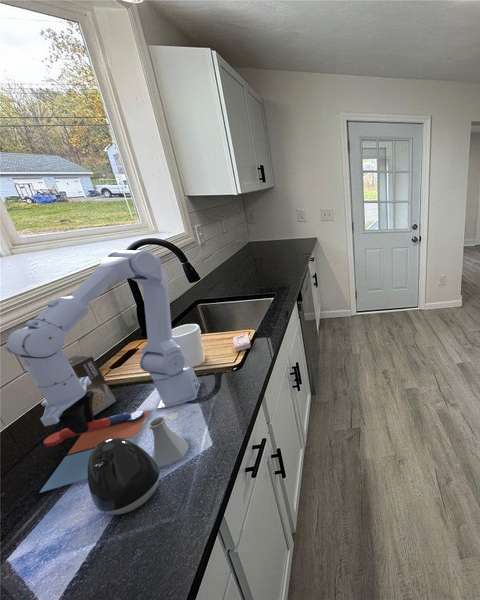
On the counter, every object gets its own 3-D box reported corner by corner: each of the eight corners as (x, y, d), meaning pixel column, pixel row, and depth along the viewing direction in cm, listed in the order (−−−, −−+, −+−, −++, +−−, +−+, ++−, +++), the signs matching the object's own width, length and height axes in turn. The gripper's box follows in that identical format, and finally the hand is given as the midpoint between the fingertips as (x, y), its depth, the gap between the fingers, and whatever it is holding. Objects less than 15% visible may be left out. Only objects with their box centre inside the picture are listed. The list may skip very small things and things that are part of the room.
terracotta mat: (149, 411, 88) (149, 410, 88) (137, 436, 80) (136, 435, 79) (88, 427, 84) (87, 426, 84) (67, 456, 75) (66, 454, 75)
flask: (149, 473, 69) (132, 439, 65) (156, 449, 75) (140, 417, 71) (187, 459, 72) (173, 425, 68) (190, 437, 78) (177, 406, 74)
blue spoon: (86, 434, 81) (83, 428, 80) (93, 425, 84) (89, 418, 83) (141, 420, 85) (138, 413, 84) (146, 411, 88) (143, 405, 87)
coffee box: (100, 399, 94) (76, 354, 88) (117, 401, 93) (94, 355, 87) (65, 422, 86) (35, 373, 80) (83, 424, 85) (54, 375, 79)
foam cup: (199, 369, 106) (187, 336, 101) (173, 371, 107) (159, 337, 102) (215, 354, 115) (204, 323, 110) (190, 355, 115) (179, 324, 110)
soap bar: (235, 352, 115) (233, 346, 114) (234, 342, 123) (232, 336, 122) (251, 348, 117) (249, 342, 117) (249, 338, 125) (247, 332, 124)
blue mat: (136, 438, 79) (135, 436, 79) (120, 469, 70) (119, 468, 70) (66, 457, 75) (65, 456, 74) (39, 494, 66) (38, 492, 66)
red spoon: (115, 420, 75) (111, 413, 74) (108, 430, 72) (104, 423, 71) (51, 436, 71) (46, 429, 71) (41, 448, 68) (36, 441, 67)
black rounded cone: (93, 535, 57) (53, 476, 52) (114, 487, 66) (82, 433, 61) (158, 510, 61) (128, 453, 55) (170, 468, 70) (145, 415, 64)
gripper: (52, 366, 71) (79, 412, 77) (7, 406, 59) (43, 458, 64) (90, 358, 74) (114, 403, 79) (55, 395, 61) (86, 446, 66)
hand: (85, 427), depth 72 cm, fingers closed on red spoon, 2 cm apart
